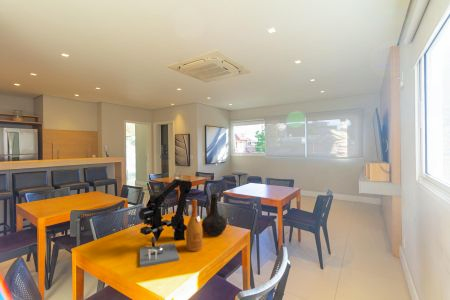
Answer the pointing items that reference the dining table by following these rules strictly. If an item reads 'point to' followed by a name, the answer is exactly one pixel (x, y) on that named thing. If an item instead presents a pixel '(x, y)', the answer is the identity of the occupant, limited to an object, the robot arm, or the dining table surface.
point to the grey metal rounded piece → (158, 248)
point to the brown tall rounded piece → (194, 230)
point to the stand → (158, 255)
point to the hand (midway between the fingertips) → (156, 240)
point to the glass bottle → (214, 219)
